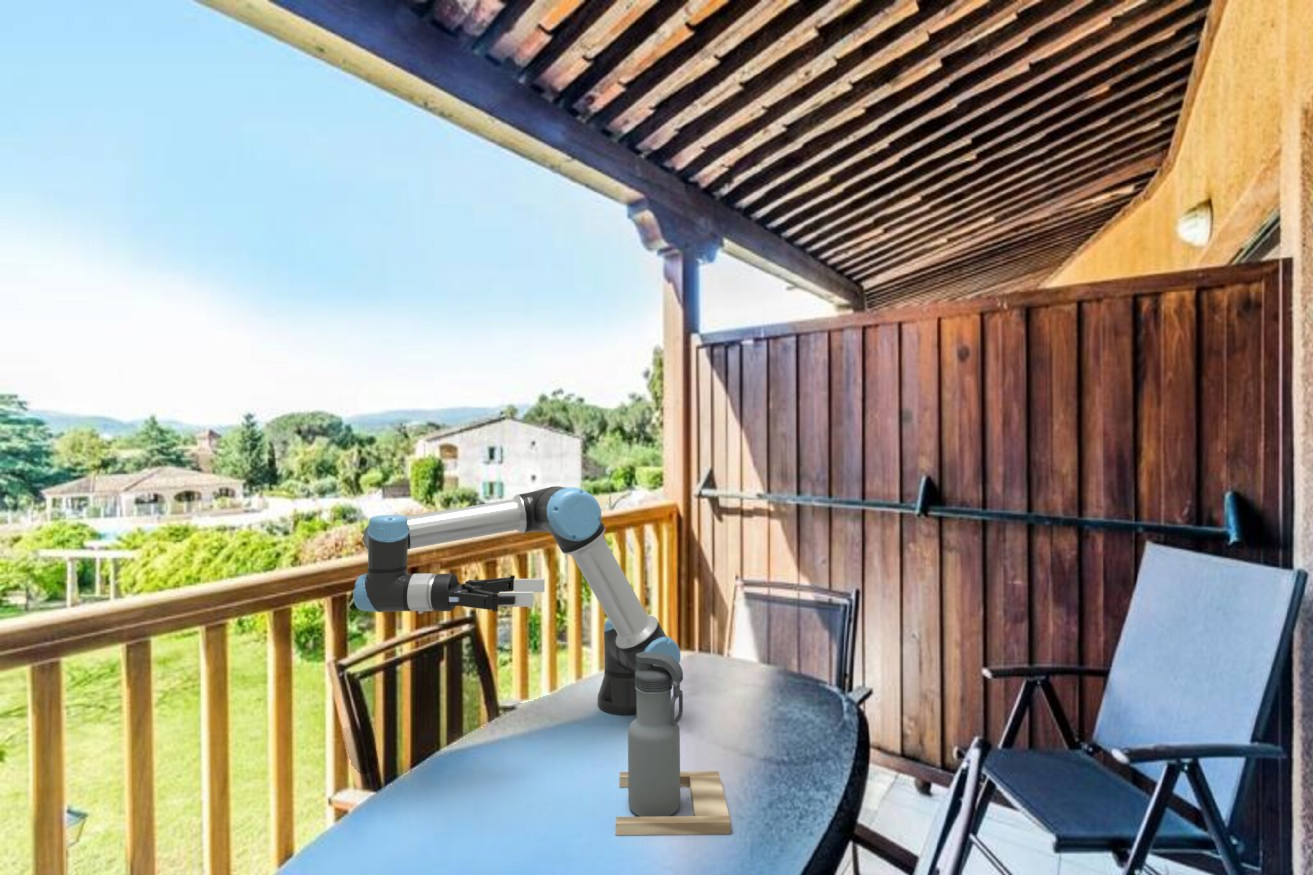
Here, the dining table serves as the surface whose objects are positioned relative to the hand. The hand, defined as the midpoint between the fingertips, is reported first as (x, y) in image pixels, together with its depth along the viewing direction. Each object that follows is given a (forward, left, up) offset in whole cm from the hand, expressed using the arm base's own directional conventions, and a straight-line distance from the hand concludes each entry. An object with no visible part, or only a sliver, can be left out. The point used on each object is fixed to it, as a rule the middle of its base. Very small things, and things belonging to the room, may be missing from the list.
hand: (539, 591), depth 129 cm
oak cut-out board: (+10, +27, -38) cm, 48 cm away
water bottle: (+10, +24, -38) cm, 46 cm away
